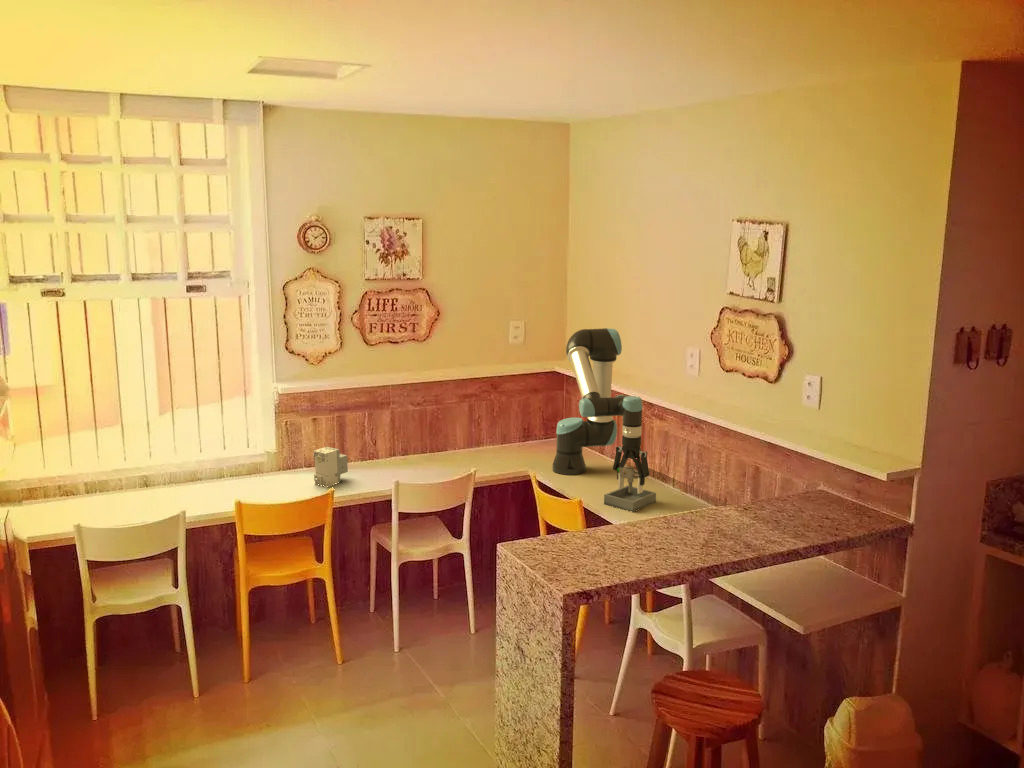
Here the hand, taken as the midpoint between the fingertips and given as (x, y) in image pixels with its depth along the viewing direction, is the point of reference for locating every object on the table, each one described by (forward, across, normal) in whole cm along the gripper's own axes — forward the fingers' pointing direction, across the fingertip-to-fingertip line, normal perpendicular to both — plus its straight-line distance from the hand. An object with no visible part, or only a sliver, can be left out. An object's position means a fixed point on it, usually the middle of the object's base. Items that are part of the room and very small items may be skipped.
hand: (630, 490), depth 356 cm
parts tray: (+5, 0, 0) cm, 5 cm away
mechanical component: (+1, 0, 0) cm, 1 cm away
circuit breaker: (+5, -111, -64) cm, 128 cm away
